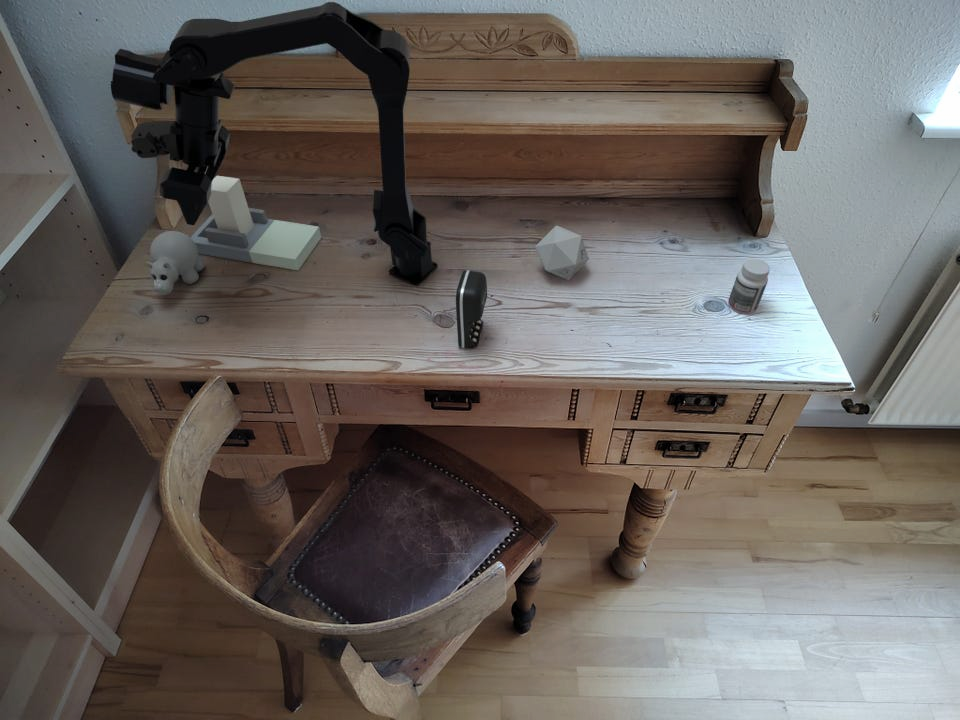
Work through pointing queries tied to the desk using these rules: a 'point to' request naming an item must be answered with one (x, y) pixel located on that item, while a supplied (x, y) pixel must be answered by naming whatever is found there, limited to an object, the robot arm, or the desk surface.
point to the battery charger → (470, 307)
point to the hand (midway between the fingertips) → (197, 207)
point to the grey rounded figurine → (173, 260)
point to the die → (562, 252)
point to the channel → (260, 241)
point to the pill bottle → (749, 286)
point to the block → (230, 205)
